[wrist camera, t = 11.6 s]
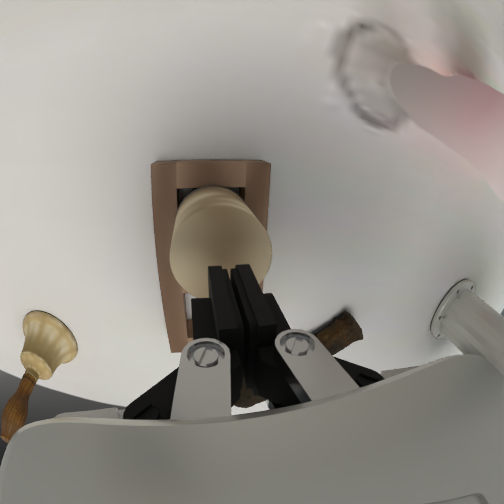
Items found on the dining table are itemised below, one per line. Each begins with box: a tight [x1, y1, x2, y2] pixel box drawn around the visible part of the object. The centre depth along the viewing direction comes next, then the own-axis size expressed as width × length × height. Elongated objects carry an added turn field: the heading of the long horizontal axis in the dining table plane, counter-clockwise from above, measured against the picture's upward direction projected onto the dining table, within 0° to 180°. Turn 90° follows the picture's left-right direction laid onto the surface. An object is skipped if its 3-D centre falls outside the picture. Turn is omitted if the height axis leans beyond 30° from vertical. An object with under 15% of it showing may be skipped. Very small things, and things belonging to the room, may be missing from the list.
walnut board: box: [151, 160, 271, 353], centre depth 24 cm, size 9×18×3 cm, turn 177°
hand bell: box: [1, 311, 77, 444], centre depth 18 cm, size 8×8×16 cm
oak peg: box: [170, 185, 272, 298], centre depth 19 cm, size 6×6×10 cm
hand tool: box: [234, 311, 363, 408], centre depth 31 cm, size 19×4×5 cm, turn 118°
